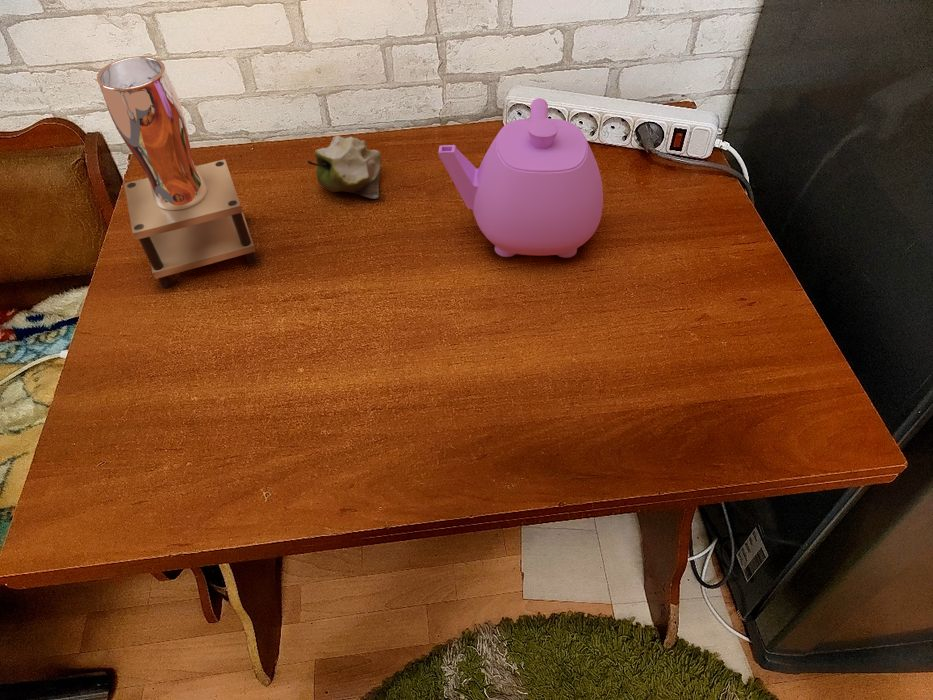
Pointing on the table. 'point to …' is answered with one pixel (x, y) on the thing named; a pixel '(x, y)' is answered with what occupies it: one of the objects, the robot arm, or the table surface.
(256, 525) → the table surface
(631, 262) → the table surface
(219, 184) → the rack
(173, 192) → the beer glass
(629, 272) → the table surface
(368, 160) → the fruit
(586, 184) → the teapot
